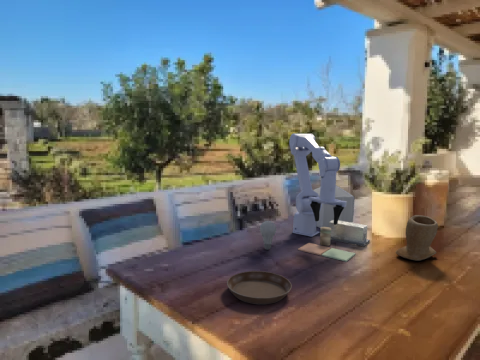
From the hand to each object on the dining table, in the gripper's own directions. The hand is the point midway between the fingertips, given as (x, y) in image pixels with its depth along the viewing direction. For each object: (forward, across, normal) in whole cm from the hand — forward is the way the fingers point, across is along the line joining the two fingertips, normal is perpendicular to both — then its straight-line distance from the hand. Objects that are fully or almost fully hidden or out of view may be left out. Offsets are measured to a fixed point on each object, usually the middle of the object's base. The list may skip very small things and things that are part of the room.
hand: (326, 222), depth 140 cm
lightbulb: (+9, -14, -20) cm, 26 cm away
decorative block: (+9, -11, +30) cm, 33 cm away
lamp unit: (+9, +5, +10) cm, 15 cm away
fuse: (+9, 0, 0) cm, 9 cm away
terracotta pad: (+9, 0, -8) cm, 12 cm away
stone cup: (+9, +32, +8) cm, 34 cm away
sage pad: (+9, +9, -8) cm, 15 cm away
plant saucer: (+9, +3, -51) cm, 52 cm away
